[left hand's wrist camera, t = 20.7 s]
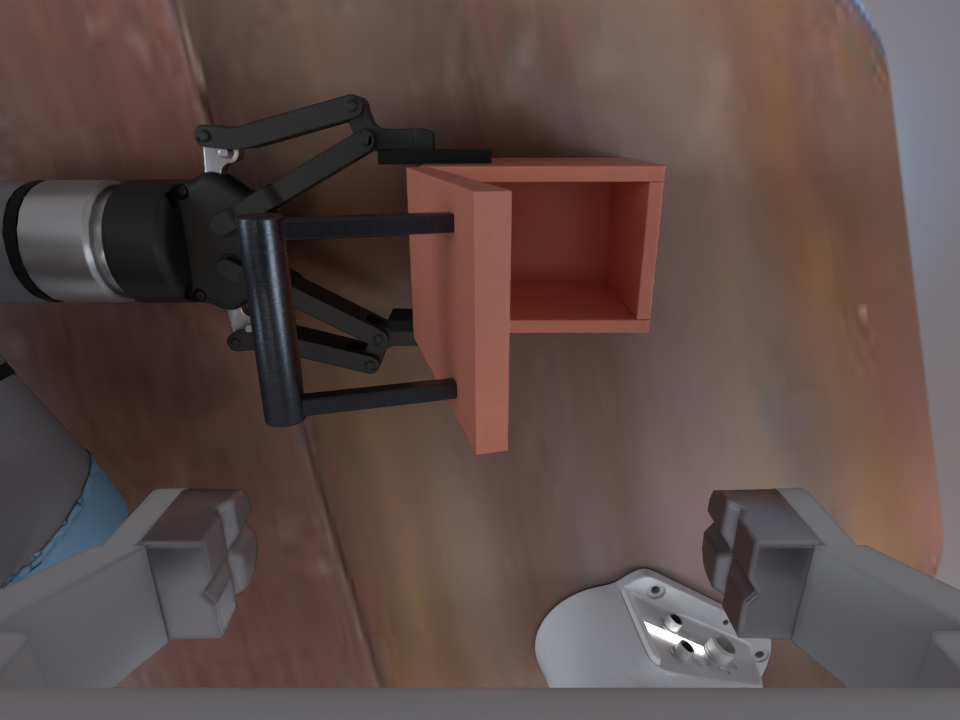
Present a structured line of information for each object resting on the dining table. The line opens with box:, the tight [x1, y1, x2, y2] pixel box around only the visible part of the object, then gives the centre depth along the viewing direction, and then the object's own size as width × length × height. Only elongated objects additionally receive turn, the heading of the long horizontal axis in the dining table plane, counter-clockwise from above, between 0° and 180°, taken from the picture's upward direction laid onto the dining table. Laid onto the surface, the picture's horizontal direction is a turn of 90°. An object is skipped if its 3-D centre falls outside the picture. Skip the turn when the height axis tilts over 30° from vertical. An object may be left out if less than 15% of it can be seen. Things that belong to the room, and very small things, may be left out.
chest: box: [420, 157, 666, 333], centre depth 39 cm, size 13×10×11 cm
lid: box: [236, 167, 512, 455], centre depth 26 cm, size 14×10×9 cm
